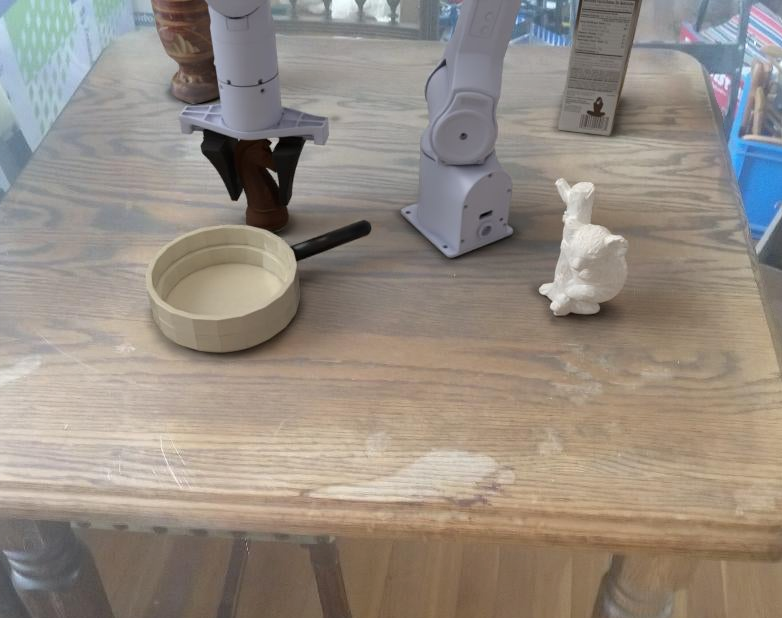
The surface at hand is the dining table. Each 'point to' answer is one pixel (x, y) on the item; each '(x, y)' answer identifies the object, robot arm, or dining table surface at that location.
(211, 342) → the pan
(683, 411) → the dining table surface
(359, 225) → the pan handle
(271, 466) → the dining table surface
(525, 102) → the dining table surface
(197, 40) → the painted clay vase
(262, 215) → the chess piece
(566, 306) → the koala figurine
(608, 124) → the coffee box
